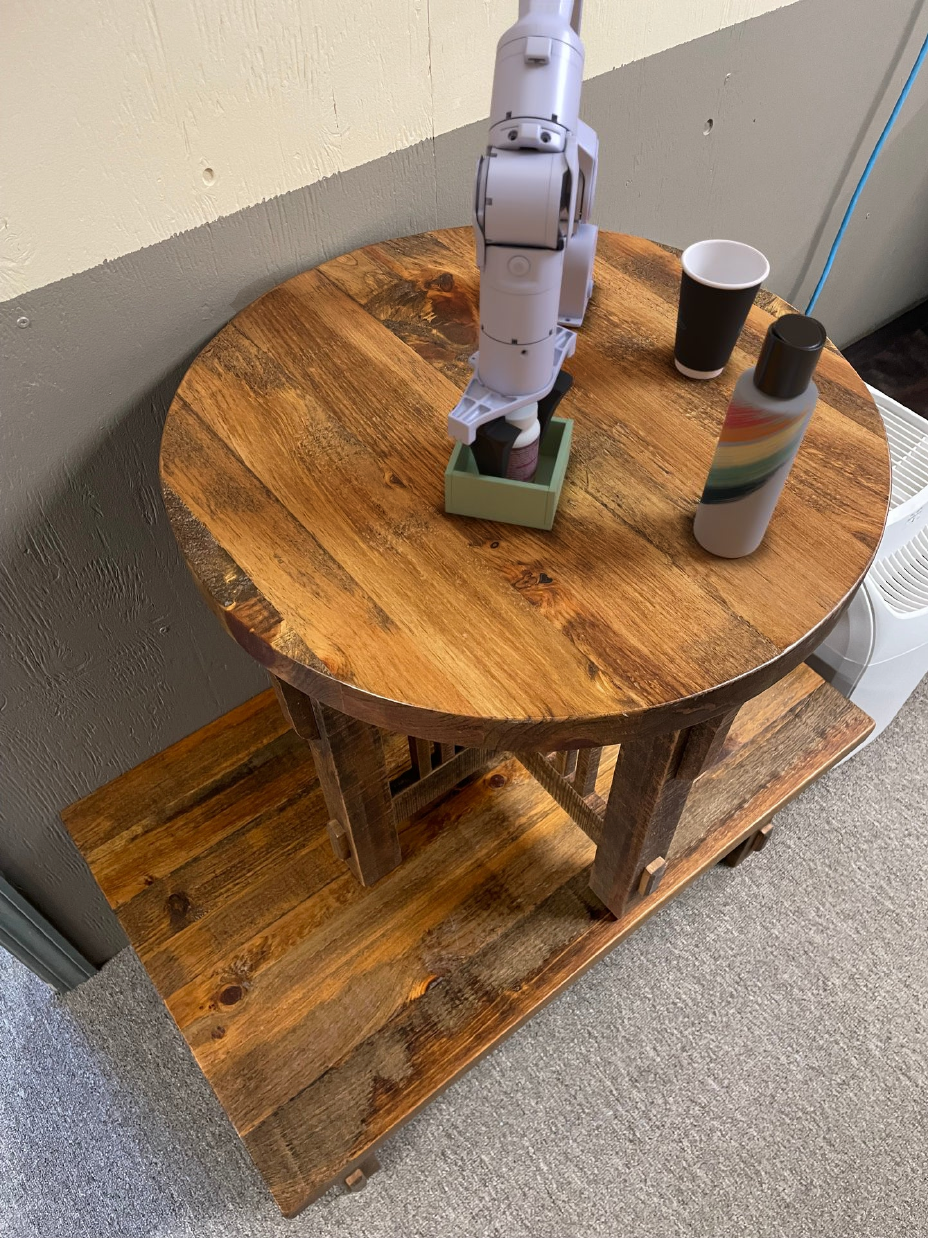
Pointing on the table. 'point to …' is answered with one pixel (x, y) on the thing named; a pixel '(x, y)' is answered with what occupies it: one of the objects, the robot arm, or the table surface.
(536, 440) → the pill bottle
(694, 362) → the dixie cup
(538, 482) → the sage green tray box
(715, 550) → the lotion bottle
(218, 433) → the table surface
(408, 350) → the table surface
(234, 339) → the table surface
